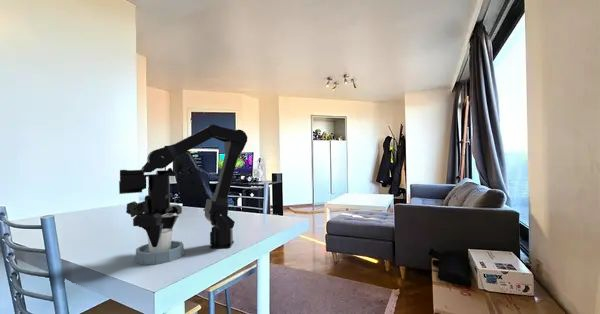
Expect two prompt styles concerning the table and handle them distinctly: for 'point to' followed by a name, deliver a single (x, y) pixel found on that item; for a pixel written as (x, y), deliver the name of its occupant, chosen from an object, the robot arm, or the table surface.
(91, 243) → the table surface
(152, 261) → the bowl
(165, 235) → the shot glass
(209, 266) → the table surface
